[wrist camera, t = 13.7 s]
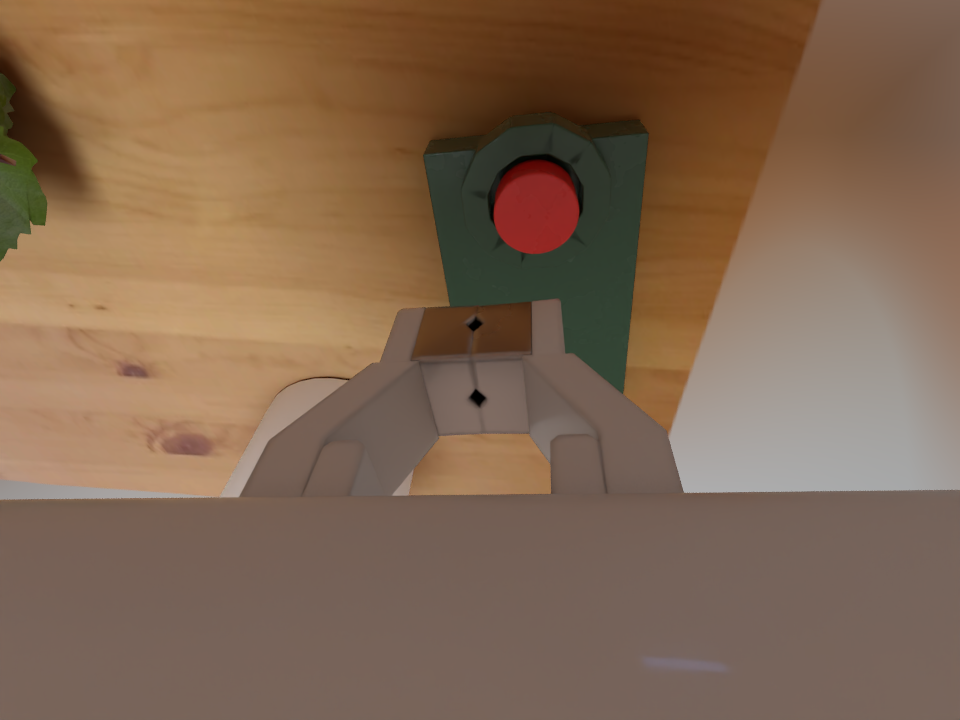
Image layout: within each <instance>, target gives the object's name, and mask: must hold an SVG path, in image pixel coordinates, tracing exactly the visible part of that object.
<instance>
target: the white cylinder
mask: <svg viewBox="0 0 960 720" xmlns="http://www.w3.org/2000/svg"><path fill="white" fill-rule="evenodd" d="M347 381H349V380H341V379H334V378H315V379H310V380H305V381H300V382H297V383H295V384H293V385H290V386H288V387H286V388H285V389H284V390H282V391H281V392H280V393H279V394H277V396H276V397H275V399H274V400H273V401H272V403H271V405H270V406H269V408H268V409H267V411H266V413H265V415H264V416H263V418H262V420H261V422H260V424H259V426H258V427H257V429H256V431H255V433H254V435H253V437H252V438H251V440H250V442H249V444H248V446H247V448H246V449H245V451H244V453H243V455H242V457H241V459H240V460H239V462H238V464H237V466H236V468H235V469H234V471H233V473H232V475H231V477H230V479H229V480H228V482H227V484H226V486H225V488H224V490H223V491H222V493H221V495H220V497H239V496H240V494H241V492H242V490H243V488H244V486H245V484H246V482H247V481H248V479H249V477H250V475H251V473H252V471H253V469H254V467H255V465H256V463H257V461H258V460H259V458H260V456H261V454H262V452H263V450H264V448H265V446H266V444H267V442H268V440H269V439H271V438H272V437H274V436H275V435H276V434H278V433H279V432H280V431H282V430H283V429H284V428H286V427H287V426H288V425H290V424H291V423H292V422H294V421H295V420H296V419H298V418H299V417H300V416H302V415H303V414H304V413H306V412H307V411H308V410H310V409H311V408H312V407H314V406H315V405H316V404H318V403H319V402H320V401H322V400H323V399H324V398H326V397H327V396H328V395H330V394H331V393H333V392H334V391H335V390H337V389H338V388H339V387H341V386H342V385H343V384H345V383H346V382H347ZM413 471H414V469H413V470H412V472H411V473H410V474H409V475H408V476H407V478H406V479H405V480H404V481H403V483H402V484H401V485H400V486H399V487H398V489H397V490H396V491H395V492H394V493H393V495H392V496H408V495H409V490H410V485H411V481H412V476H413ZM220 497H219V498H220Z"/></svg>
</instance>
